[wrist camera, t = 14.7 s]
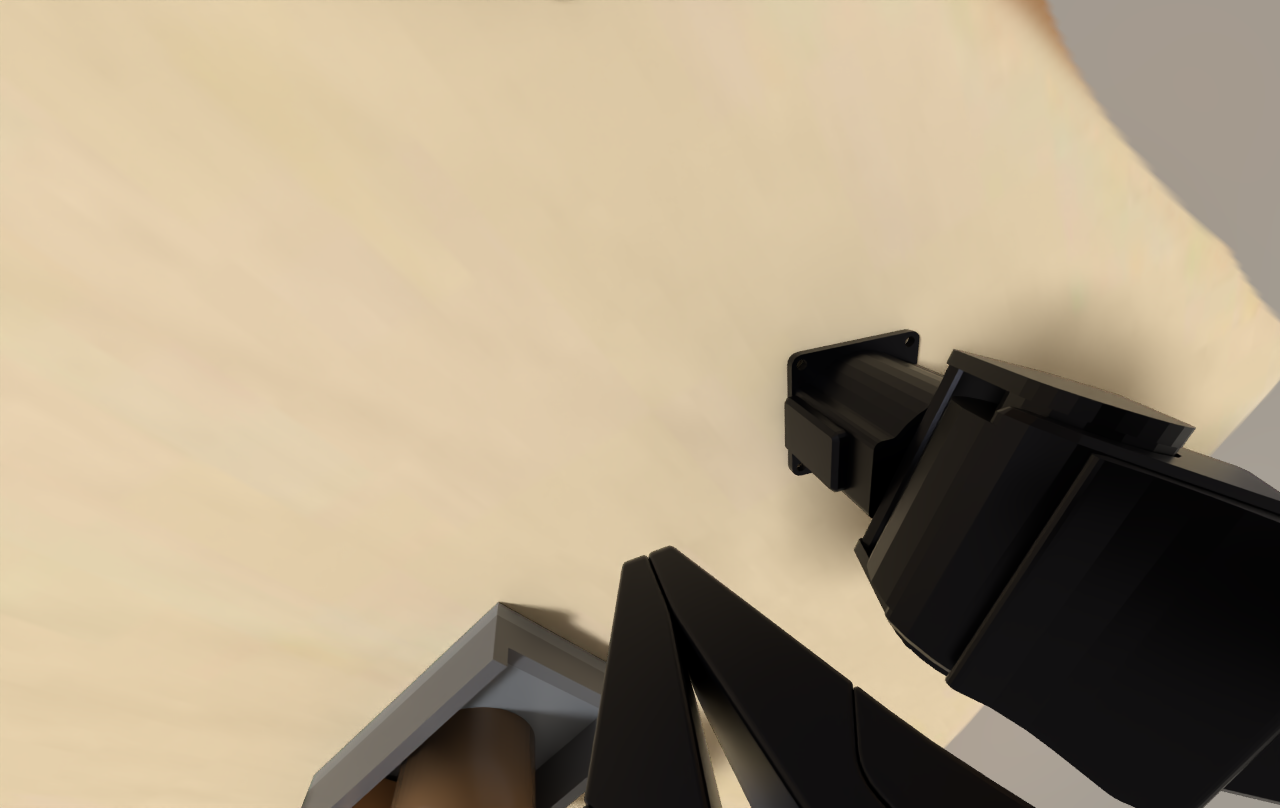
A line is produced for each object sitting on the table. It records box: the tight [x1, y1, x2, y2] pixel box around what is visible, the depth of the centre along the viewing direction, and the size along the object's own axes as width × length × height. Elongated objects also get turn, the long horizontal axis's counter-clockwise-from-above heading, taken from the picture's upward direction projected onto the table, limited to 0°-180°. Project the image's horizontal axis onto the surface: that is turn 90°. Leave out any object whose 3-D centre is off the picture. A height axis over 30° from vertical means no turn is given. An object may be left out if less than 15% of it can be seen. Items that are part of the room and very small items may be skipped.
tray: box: [301, 602, 606, 808], centre depth 24 cm, size 15×11×7 cm
